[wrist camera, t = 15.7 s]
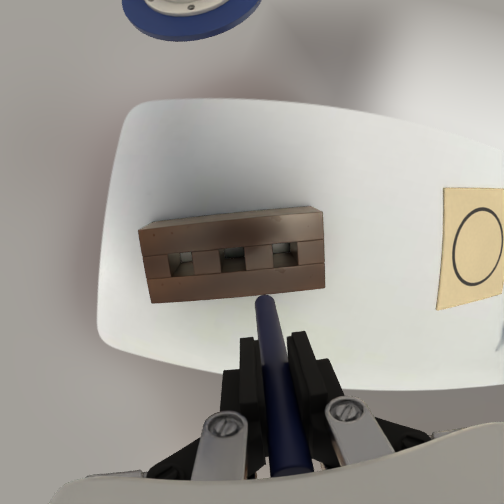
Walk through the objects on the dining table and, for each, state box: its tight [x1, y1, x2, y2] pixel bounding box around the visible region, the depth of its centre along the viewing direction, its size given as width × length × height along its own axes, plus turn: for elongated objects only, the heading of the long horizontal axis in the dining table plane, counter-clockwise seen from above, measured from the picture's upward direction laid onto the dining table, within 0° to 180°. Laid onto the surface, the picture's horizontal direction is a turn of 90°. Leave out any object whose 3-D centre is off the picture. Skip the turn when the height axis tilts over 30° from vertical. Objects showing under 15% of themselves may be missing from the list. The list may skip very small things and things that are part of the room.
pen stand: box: [138, 206, 325, 303], centre depth 30 cm, size 7×17×5 cm, turn 95°
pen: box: [255, 295, 314, 478], centre depth 13 cm, size 1×1×13 cm
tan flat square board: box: [436, 188, 504, 311], centre depth 33 cm, size 16×14×1 cm
